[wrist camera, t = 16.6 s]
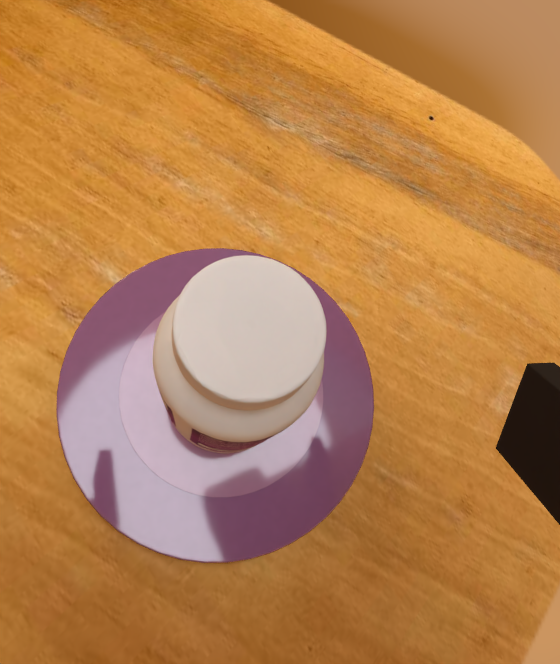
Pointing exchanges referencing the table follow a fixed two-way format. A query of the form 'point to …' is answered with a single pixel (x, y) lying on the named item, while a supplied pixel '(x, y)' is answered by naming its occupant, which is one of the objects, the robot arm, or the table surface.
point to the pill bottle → (240, 353)
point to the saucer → (188, 459)
